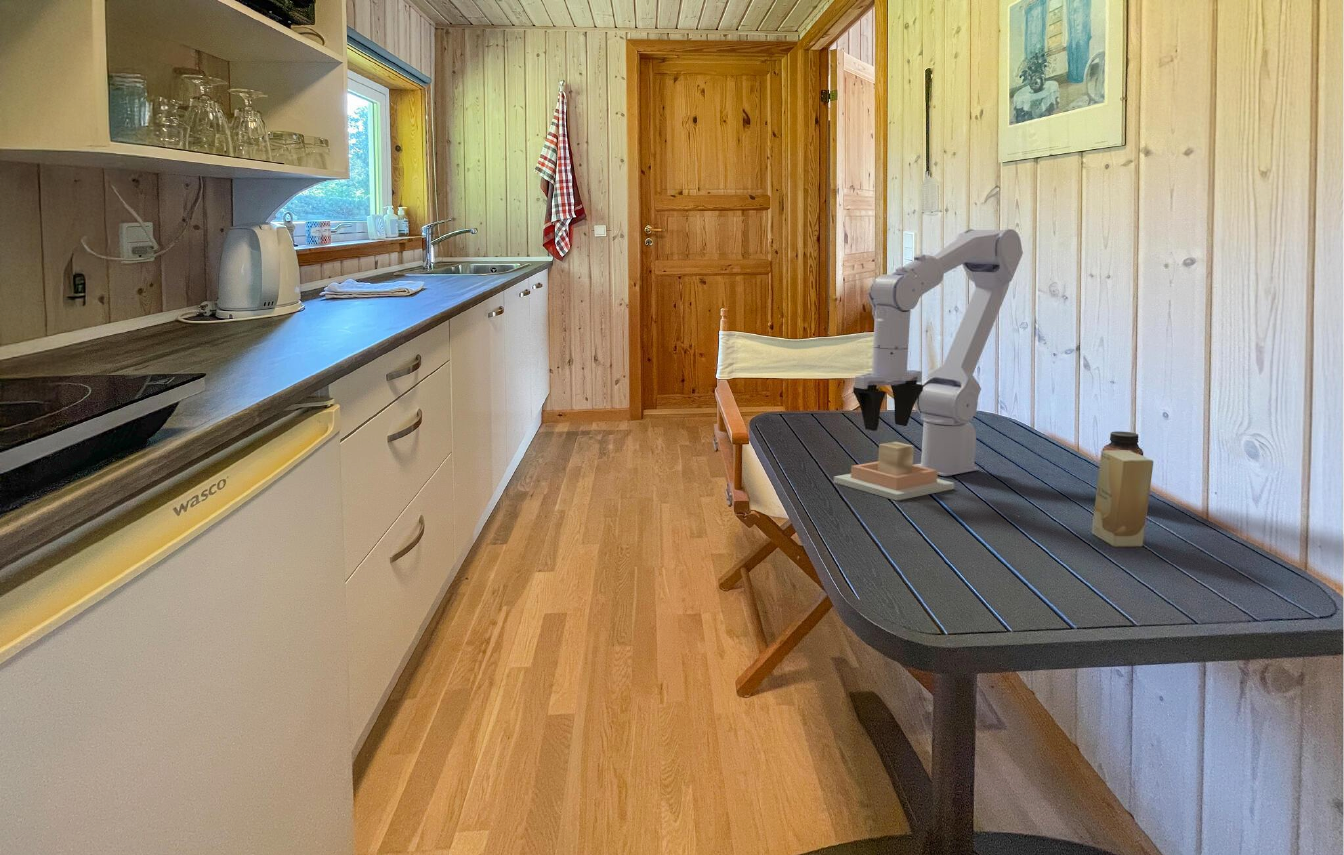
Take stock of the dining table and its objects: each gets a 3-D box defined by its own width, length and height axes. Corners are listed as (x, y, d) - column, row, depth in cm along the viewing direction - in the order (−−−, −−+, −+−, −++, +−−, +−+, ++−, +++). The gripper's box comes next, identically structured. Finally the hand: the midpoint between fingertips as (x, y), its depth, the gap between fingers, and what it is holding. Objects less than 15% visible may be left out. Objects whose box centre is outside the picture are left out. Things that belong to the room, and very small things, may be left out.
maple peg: (893, 476, 164) (895, 441, 163) (911, 480, 161) (913, 445, 160) (877, 479, 162) (879, 444, 161) (895, 484, 159) (897, 448, 158)
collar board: (890, 472, 172) (891, 455, 171) (953, 488, 161) (955, 471, 160) (833, 482, 164) (834, 465, 163) (896, 500, 153) (897, 482, 152)
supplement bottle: (1142, 509, 150) (1150, 438, 148) (1101, 506, 151) (1108, 435, 149) (1132, 499, 155) (1139, 430, 153) (1093, 497, 157) (1100, 428, 154)
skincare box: (1090, 533, 136) (1098, 449, 134) (1119, 533, 137) (1128, 449, 135) (1114, 547, 130) (1123, 459, 128) (1145, 547, 131) (1155, 459, 128)
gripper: (879, 352, 153) (875, 435, 156) (938, 347, 162) (932, 426, 164) (846, 348, 159) (843, 428, 161) (905, 343, 167) (900, 420, 170)
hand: (886, 427), depth 163 cm, fingers open, 7 cm apart
